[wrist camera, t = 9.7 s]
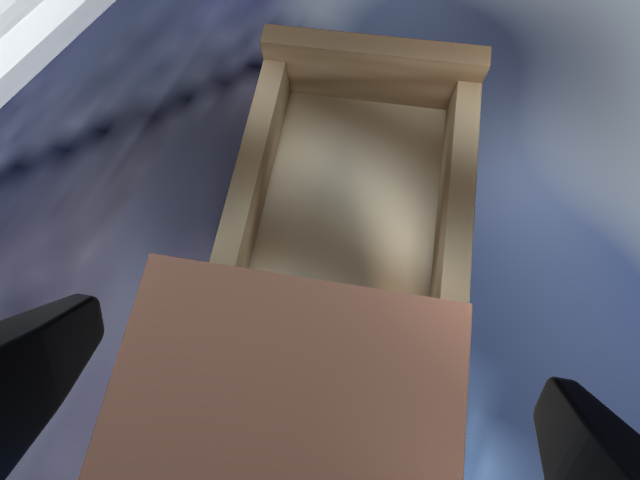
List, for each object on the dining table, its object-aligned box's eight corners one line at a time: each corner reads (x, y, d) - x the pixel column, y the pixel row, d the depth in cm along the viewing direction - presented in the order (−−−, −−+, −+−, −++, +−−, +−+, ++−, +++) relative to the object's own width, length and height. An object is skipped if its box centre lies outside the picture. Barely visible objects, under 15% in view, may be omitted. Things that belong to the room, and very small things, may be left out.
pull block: (369, 484, 14) (448, 757, 4) (245, 459, 15) (25, 647, 4) (384, 354, 16) (473, 303, 5) (270, 334, 16) (149, 252, 6)
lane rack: (440, 563, 14) (471, 619, 11) (163, 501, 15) (112, 536, 12) (471, 102, 20) (497, 47, 17) (271, 79, 21) (259, 23, 18)
